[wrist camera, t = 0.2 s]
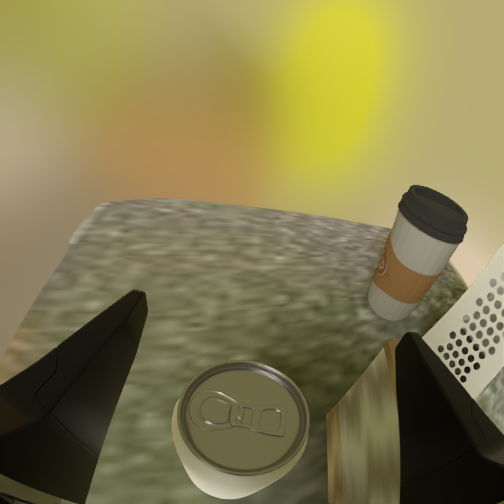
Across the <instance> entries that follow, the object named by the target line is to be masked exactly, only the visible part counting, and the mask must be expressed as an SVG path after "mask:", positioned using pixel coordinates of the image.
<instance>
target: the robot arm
mask: <svg viewBox="0 0 504 504" xmlns="http://www.w3.org/2000/svg"><path fill="white" fill-rule="evenodd" d="M147 314H148V307H147V299H146V294H145V292H143V291H139V290H132V291H130V292H129V293H128V294H126V295H125V296H123V297H122V298H121V299H119V300H118V301H117V302H115V303H114V304H112V305H111V306H110V307H108V308H107V309H106V310H104V311H103V312H102V313H100V314H99V315H98V316H96V317H95V318H94V319H92V320H91V321H90V322H88V323H87V324H86V325H84V326H83V327H82V328H80V329H79V330H78V331H76V332H75V333H74V334H72V335H71V336H70V337H68V338H67V339H66V340H65V341H63V342H62V343H61V344H59V345H58V346H57V348H54V349H53V350H51V351H50V352H49V353H48V354H46V355H45V356H44V357H42V358H41V359H40V360H38V361H37V362H35V363H34V364H32V365H31V366H29V367H28V368H26V369H25V370H23V371H22V372H20V373H19V374H17V375H15V376H14V377H12V378H11V379H9V380H8V381H6V382H5V383H3V384H1V385H0V504H61V501H62V499H64V500H67V501H70V502H74V503H77V504H85V502H86V499H87V495H88V492H89V488H90V485H91V481H92V478H93V474H94V471H95V468H96V465H97V461H98V457H99V455H100V452H101V449H102V446H103V443H104V440H105V437H106V434H107V431H108V428H109V425H110V422H111V419H112V417H113V414H114V411H115V408H116V405H117V403H118V400H119V397H120V395H121V392H122V389H123V387H124V384H125V382H126V379H127V376H128V374H129V371H130V369H131V366H132V364H133V361H134V359H135V356H136V353H137V349H138V346H139V342H140V339H141V335H142V332H143V328H144V325H145V321H146V318H147ZM395 376H396V397H397V408H398V422H399V440H400V485H401V486H400V501H399V504H504V435H503V433H502V432H501V431H500V430H499V429H498V428H497V427H496V425H495V424H494V423H493V422H492V421H491V420H490V419H489V418H488V416H487V415H486V414H485V413H484V412H483V411H482V409H481V408H480V407H479V406H478V404H477V403H476V402H475V401H474V399H473V398H472V397H471V396H470V394H469V393H468V392H467V391H466V389H465V388H464V387H463V386H462V384H461V383H460V382H459V381H458V380H457V378H456V377H455V376H454V375H453V373H452V372H451V371H450V370H449V369H448V368H447V366H446V365H445V364H444V363H443V362H442V360H441V359H440V358H439V357H438V356H437V355H436V353H435V352H434V351H433V350H432V349H431V348H430V347H429V345H428V344H427V343H426V342H425V341H424V340H423V339H422V338H421V336H420V335H419V334H418V333H416V332H407V333H405V335H404V336H403V337H402V339H401V340H400V341H399V343H398V344H397V346H396V348H395Z"/></svg>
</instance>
